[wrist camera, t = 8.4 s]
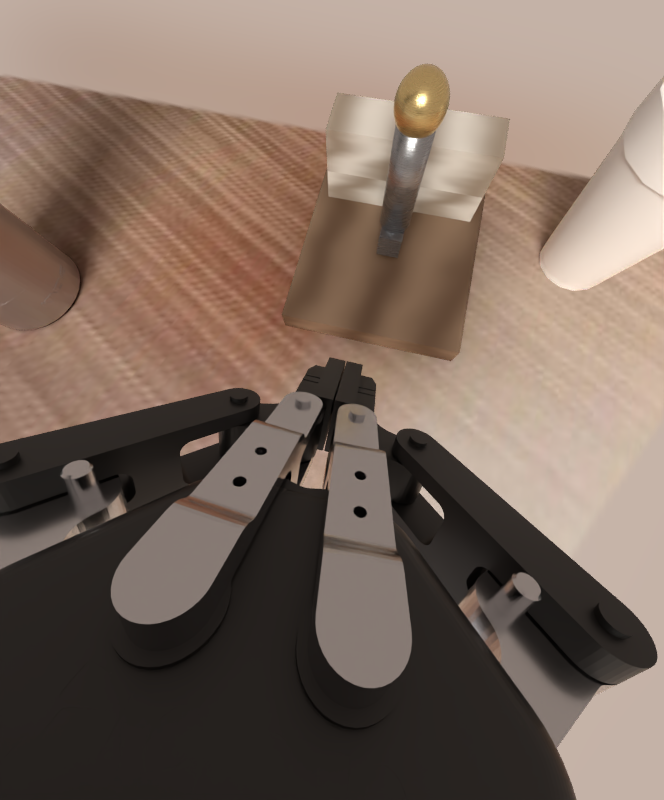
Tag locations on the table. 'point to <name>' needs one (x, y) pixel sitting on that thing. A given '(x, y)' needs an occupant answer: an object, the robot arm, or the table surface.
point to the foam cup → (615, 207)
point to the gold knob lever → (410, 149)
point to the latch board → (422, 241)
